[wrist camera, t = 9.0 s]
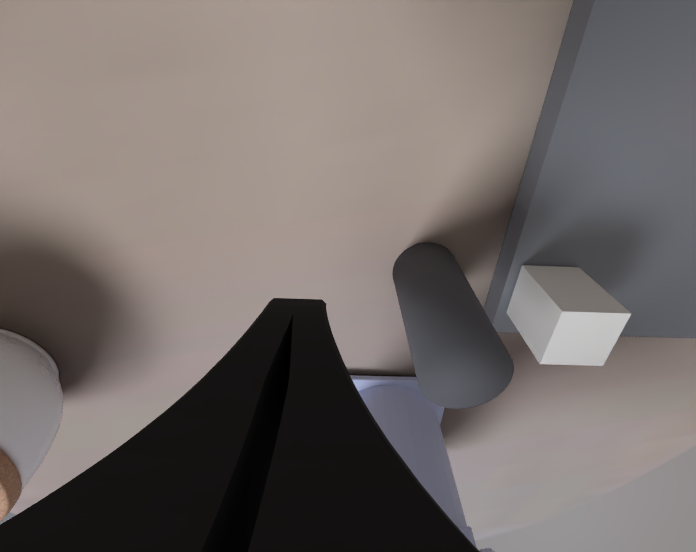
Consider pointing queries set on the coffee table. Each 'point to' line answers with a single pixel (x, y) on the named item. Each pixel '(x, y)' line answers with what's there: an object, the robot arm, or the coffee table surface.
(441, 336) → the cylinder
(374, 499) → the robot arm
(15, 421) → the lidded jar
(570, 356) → the plain white brick
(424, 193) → the coffee table surface
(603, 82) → the flat gray rectangular panel
